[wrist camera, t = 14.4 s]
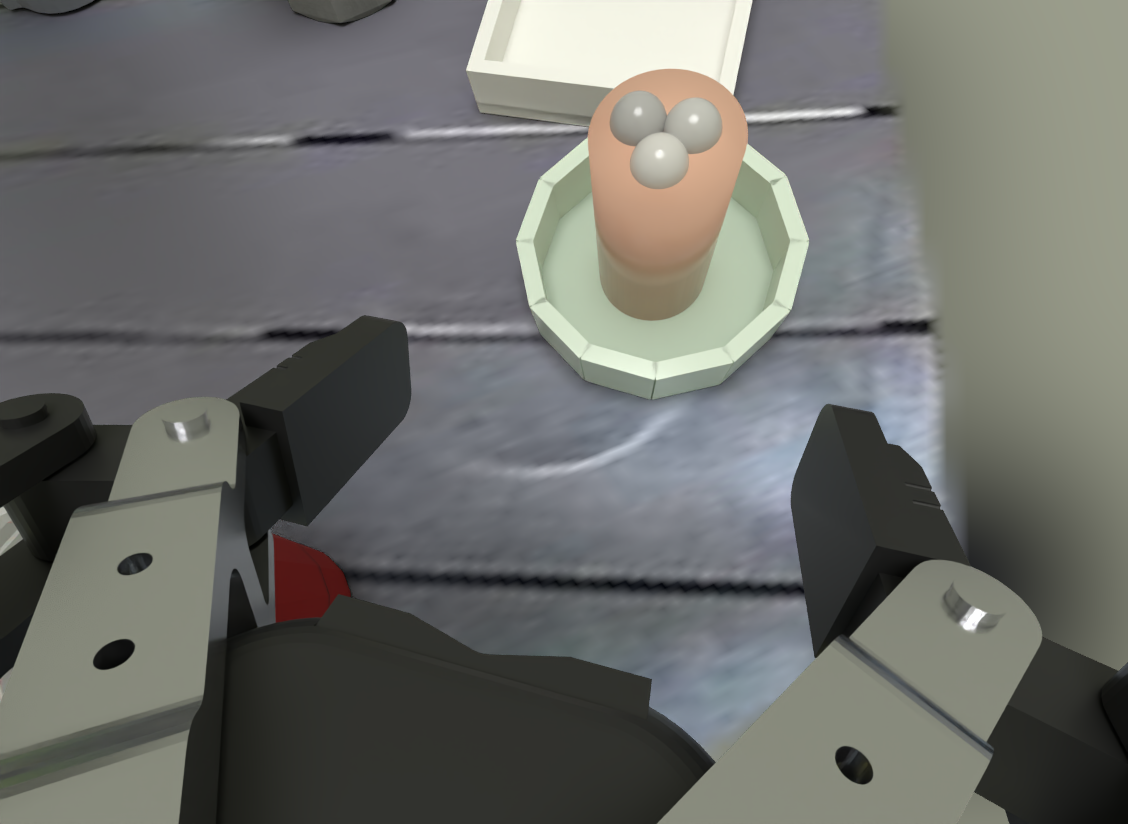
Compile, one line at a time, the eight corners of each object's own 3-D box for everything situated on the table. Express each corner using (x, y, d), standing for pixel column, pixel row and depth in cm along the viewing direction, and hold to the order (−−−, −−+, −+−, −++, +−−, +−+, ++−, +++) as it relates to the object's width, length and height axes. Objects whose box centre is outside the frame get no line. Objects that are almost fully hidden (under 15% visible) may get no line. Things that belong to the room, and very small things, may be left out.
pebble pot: (612, 331, 28) (605, 206, 18) (589, 237, 30) (571, 70, 19) (717, 307, 28) (774, 165, 18) (690, 213, 29) (728, 29, 19)
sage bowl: (558, 420, 28) (549, 404, 25) (512, 198, 31) (498, 156, 28) (815, 362, 28) (843, 337, 24) (742, 142, 31) (757, 92, 27)
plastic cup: (163, 712, 27) (-184, 842, 15) (223, 488, 29) (-40, 451, 18) (377, 755, 26) (173, 932, 14) (422, 515, 28) (278, 496, 16)
